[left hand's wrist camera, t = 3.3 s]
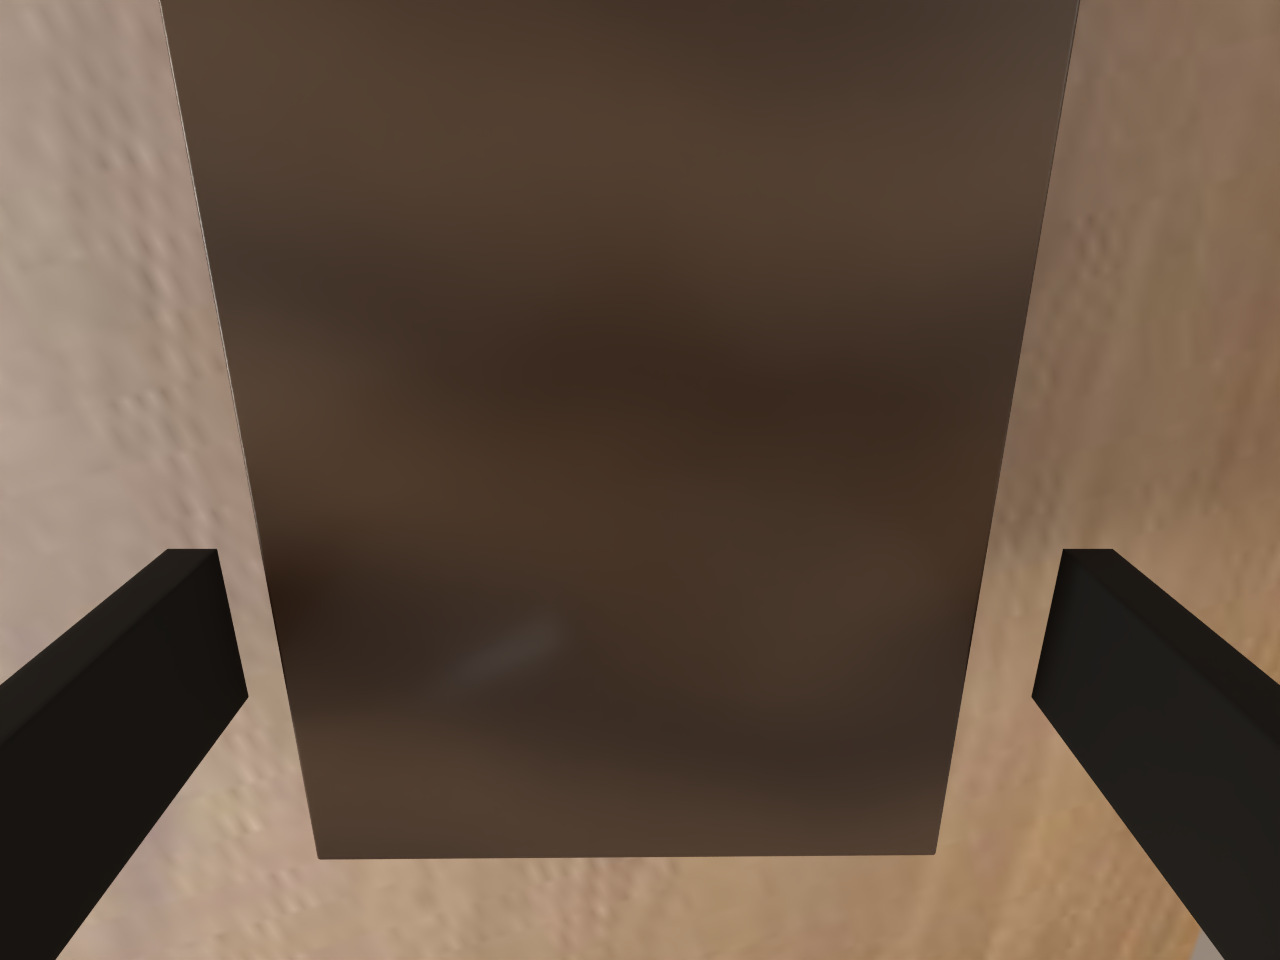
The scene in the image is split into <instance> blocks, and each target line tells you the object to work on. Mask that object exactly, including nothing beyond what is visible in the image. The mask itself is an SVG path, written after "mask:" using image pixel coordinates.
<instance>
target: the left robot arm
mask: <svg viewBox="0 0 1280 960" xmlns="http://www.w3.org/2000/svg"><path fill="white" fill-rule="evenodd" d="M247 698H248V692H247V687H246V683H245V678H244V673H243V669H242V664H241V659H240V655H239V650H238V645H237V641H236V636H235V631H234V627H233V622H232V617H231V613H230V608H229V603H228V599H227V594H226V589H225V585H224V580H223V575H222V570H221V566H220V561H219V556H218V552H217V549H167V550H166V551H164V552H163V553H162V554H161V555H160V556H158V557H157V558H156V559H155V560H153V561H152V562H151V563H150V564H148V565H147V566H146V567H145V568H144V569H142V570H141V571H140V572H139V573H137V574H136V575H135V576H134V577H132V578H131V579H130V580H129V581H128V582H126V583H125V584H124V585H123V586H121V587H120V588H119V589H118V590H117V591H115V592H114V593H113V594H112V595H110V596H109V597H108V598H107V599H105V600H104V601H103V602H102V603H101V604H99V605H98V606H97V607H96V608H94V609H93V610H92V611H91V612H90V613H88V614H87V615H86V616H85V617H83V618H82V619H81V620H80V621H78V622H77V623H76V624H75V625H74V626H72V627H71V628H70V629H69V630H67V631H66V632H65V633H64V634H62V635H61V636H60V637H59V638H58V639H56V640H55V641H54V642H53V643H51V644H50V645H49V646H48V647H47V648H45V649H44V650H43V651H42V652H40V653H39V654H38V655H37V656H35V657H34V658H33V659H32V660H31V661H29V662H28V663H27V664H26V665H24V666H23V667H22V668H21V669H20V670H18V671H17V672H16V673H15V674H13V675H12V676H11V677H10V678H8V679H7V680H6V681H5V682H4V683H2V684H1V685H0V960H56V958H57V957H58V955H59V954H60V953H61V951H62V950H63V949H64V947H65V946H66V945H67V943H68V942H69V941H70V939H71V938H72V936H73V935H74V934H75V932H76V931H77V930H78V928H79V927H80V926H81V924H82V923H83V921H84V920H85V919H86V917H87V916H88V915H89V913H90V912H91V911H92V909H93V908H94V906H95V905H96V904H97V902H98V901H99V900H100V898H101V897H102V896H103V894H104V893H105V892H106V890H107V889H108V887H109V886H110V885H111V883H112V882H113V881H114V879H115V878H116V877H117V875H118V874H119V872H120V871H121V870H122V868H123V867H124V866H125V864H126V863H127V862H128V860H129V859H130V858H131V856H132V855H133V853H134V852H135V851H136V849H137V848H138V847H139V845H140V844H141V843H142V841H143V840H144V838H145V837H146V836H147V834H148V833H149V832H150V830H151V829H152V828H153V826H154V825H155V823H156V822H157V821H158V819H159V818H160V817H161V815H162V814H163V813H164V811H165V810H166V809H167V807H168V806H169V804H170V803H171V802H172V800H173V799H174V798H175V796H176V795H177V794H178V792H179V791H180V789H181V788H182V787H183V785H184V784H185V783H186V781H187V780H188V779H189V777H190V776H191V775H192V773H193V772H194V770H195V769H196V768H197V766H198V765H199V764H200V762H201V761H202V760H203V758H204V757H205V755H206V754H207V753H208V751H209V750H210V749H211V747H212V746H213V745H214V743H215V742H216V740H217V739H218V738H219V736H220V735H221V734H222V732H223V731H224V730H225V728H226V727H227V726H228V724H229V723H230V721H231V720H232V719H233V717H234V716H235V715H236V713H237V712H238V711H239V709H240V708H241V706H242V705H243V704H244V702H245V701H246V700H247ZM1032 698H1033V700H1034V701H1035V702H1036V704H1037V705H1038V706H1039V708H1040V709H1041V711H1042V712H1043V713H1044V715H1045V716H1046V717H1047V719H1048V720H1049V721H1050V723H1051V724H1052V726H1053V727H1054V728H1055V730H1056V731H1057V732H1058V734H1059V735H1060V736H1061V738H1062V739H1063V740H1064V742H1065V743H1066V745H1067V746H1068V747H1069V749H1070V750H1071V751H1072V753H1073V754H1074V755H1075V757H1076V758H1077V760H1078V761H1079V762H1080V764H1081V765H1082V766H1083V768H1084V769H1085V770H1086V772H1087V773H1088V775H1089V776H1090V777H1091V779H1092V780H1093V781H1094V783H1095V784H1096V785H1097V787H1098V788H1099V789H1100V791H1101V792H1102V794H1103V795H1104V796H1105V798H1106V799H1107V800H1108V802H1109V803H1110V804H1111V806H1112V807H1113V809H1114V810H1115V811H1116V813H1117V814H1118V815H1119V817H1120V818H1121V819H1122V821H1123V822H1124V823H1125V825H1126V826H1127V828H1128V829H1129V830H1130V832H1131V833H1132V834H1133V836H1134V837H1135V838H1136V840H1137V841H1138V843H1139V844H1140V845H1141V847H1142V848H1143V849H1144V851H1145V852H1146V853H1147V855H1148V856H1149V858H1150V859H1151V860H1152V862H1153V863H1154V864H1155V866H1156V867H1157V868H1158V870H1159V871H1160V872H1161V874H1162V875H1163V877H1164V878H1165V879H1166V881H1167V882H1168V883H1169V885H1170V886H1171V887H1172V889H1173V890H1174V892H1175V893H1176V894H1177V896H1178V897H1179V898H1180V900H1181V901H1182V902H1183V904H1184V905H1185V906H1186V908H1187V909H1188V911H1189V912H1190V913H1191V915H1192V916H1193V917H1194V919H1195V920H1196V921H1197V923H1198V924H1199V926H1200V927H1201V928H1202V930H1203V931H1204V932H1205V934H1206V935H1207V936H1208V938H1209V939H1210V941H1211V942H1212V943H1213V945H1214V946H1215V947H1216V949H1217V950H1218V951H1219V953H1220V954H1221V955H1222V957H1223V958H1224V959H1225V960H1280V685H1279V684H1278V683H1276V682H1275V681H1274V680H1273V679H1272V678H1270V677H1269V676H1268V675H1267V674H1265V673H1264V672H1263V671H1262V670H1260V669H1259V668H1258V667H1257V666H1256V665H1254V664H1253V663H1252V662H1251V661H1249V660H1248V659H1247V658H1246V657H1245V656H1243V655H1242V654H1241V653H1240V652H1238V651H1237V650H1236V649H1235V648H1233V647H1232V646H1231V645H1230V644H1229V643H1227V642H1226V641H1225V640H1224V639H1222V638H1221V637H1220V636H1219V635H1218V634H1216V633H1215V632H1214V631H1213V630H1211V629H1210V628H1209V627H1208V626H1206V625H1205V624H1204V623H1203V622H1202V621H1200V620H1199V619H1198V618H1197V617H1195V616H1194V615H1193V614H1192V613H1190V612H1189V611H1188V610H1187V609H1186V608H1184V607H1183V606H1182V605H1181V604H1179V603H1178V602H1177V601H1176V600H1175V599H1173V598H1172V597H1171V596H1170V595H1168V594H1167V593H1166V592H1165V591H1163V590H1162V589H1161V588H1160V587H1159V586H1157V585H1156V584H1155V583H1154V582H1152V581H1151V580H1150V579H1149V578H1148V577H1146V576H1145V575H1144V574H1143V573H1141V572H1140V571H1139V570H1138V569H1136V568H1135V567H1134V566H1133V565H1132V564H1130V563H1129V562H1128V561H1127V560H1125V559H1124V558H1123V557H1122V556H1120V555H1119V554H1118V553H1117V552H1116V551H1114V550H1113V549H1063V552H1062V556H1061V561H1060V566H1059V570H1058V575H1057V580H1056V585H1055V589H1054V594H1053V599H1052V603H1051V608H1050V613H1049V617H1048V622H1047V627H1046V631H1045V636H1044V641H1043V645H1042V650H1041V655H1040V659H1039V664H1038V669H1037V673H1036V678H1035V683H1034V687H1033V692H1032Z"/></svg>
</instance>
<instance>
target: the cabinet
mask: <svg viewBox="0 0 1280 960" xmlns="http://www.w3.org/2000/svg"><path fill="white" fill-rule="evenodd" d="M1079 4H1080V0H159V5H160V10H161V16H162V21H163V27H164V32H165V37H166V43H167V48H168V53H169V59H170V64H171V70H172V75H173V80H174V86H175V91H176V97H177V102H178V107H179V113H180V118H181V123H182V129H183V134H184V140H185V145H186V150H187V156H188V161H189V167H190V172H191V177H192V183H193V188H194V193H195V199H196V204H197V210H198V215H199V220H200V226H201V231H202V237H203V242H204V247H205V253H206V258H207V264H208V269H209V274H210V280H211V285H212V290H213V296H214V301H215V307H216V312H217V317H218V323H219V328H220V334H221V339H222V344H223V350H224V355H225V360H226V366H227V371H228V377H229V382H230V387H231V393H232V398H233V404H234V409H235V414H236V420H237V425H238V430H239V436H240V441H241V447H242V452H243V457H244V463H245V468H246V474H247V479H248V484H249V490H250V495H251V500H252V506H253V511H254V517H255V522H256V527H257V533H258V538H259V544H260V549H261V554H262V560H263V565H264V570H265V576H266V581H267V587H268V592H269V597H270V603H271V608H272V614H273V619H274V624H275V630H276V635H277V641H278V646H279V651H280V657H281V662H282V667H283V673H284V678H285V684H286V689H287V694H288V700H289V705H290V711H291V716H292V721H293V727H294V732H295V737H296V743H297V748H298V754H299V759H300V764H301V770H302V775H303V781H304V786H305V791H306V797H307V802H308V807H309V813H310V818H311V824H312V829H313V834H314V840H315V845H316V851H317V856H318V859H450V858H585V857H720V856H855V855H934V854H935V853H936V847H937V841H938V835H939V829H940V823H941V817H942V811H943V806H944V800H945V794H946V788H947V782H948V776H949V770H950V764H951V758H952V752H953V747H954V741H955V735H956V729H957V723H958V717H959V711H960V705H961V699H962V694H963V688H964V682H965V676H966V670H967V664H968V658H969V652H970V646H971V641H972V635H973V629H974V623H975V617H976V611H977V605H978V599H979V593H980V587H981V582H982V576H983V570H984V564H985V558H986V552H987V546H988V540H989V534H990V529H991V523H992V517H993V511H994V505H995V499H996V493H997V487H998V481H999V475H1000V470H1001V464H1002V458H1003V452H1004V446H1005V440H1006V434H1007V428H1008V422H1009V417H1010V411H1011V405H1012V399H1013V393H1014V387H1015V381H1016V375H1017V369H1018V364H1019V358H1020V352H1021V346H1022V340H1023V334H1024V328H1025V322H1026V316H1027V310H1028V305H1029V299H1030V293H1031V287H1032V281H1033V275H1034V269H1035V263H1036V257H1037V252H1038V246H1039V240H1040V234H1041V228H1042V222H1043V216H1044V210H1045V204H1046V199H1047V193H1048V187H1049V181H1050V175H1051V169H1052V163H1053V157H1054V151H1055V145H1056V140H1057V134H1058V128H1059V122H1060V116H1061V110H1062V104H1063V98H1064V92H1065V87H1066V81H1067V75H1068V69H1069V63H1070V57H1071V51H1072V45H1073V39H1074V34H1075V28H1076V22H1077V16H1078V10H1079Z"/></svg>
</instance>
